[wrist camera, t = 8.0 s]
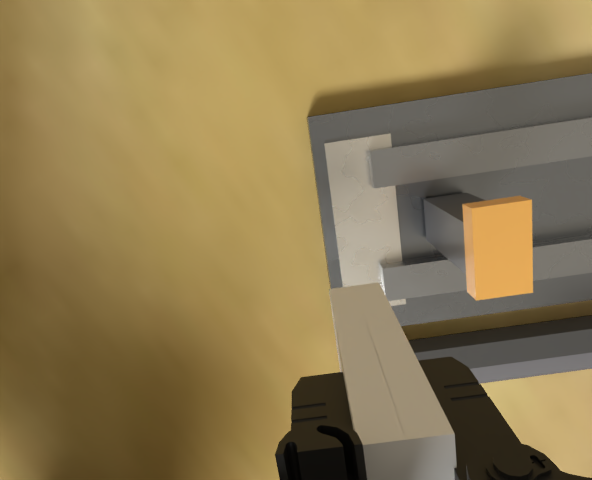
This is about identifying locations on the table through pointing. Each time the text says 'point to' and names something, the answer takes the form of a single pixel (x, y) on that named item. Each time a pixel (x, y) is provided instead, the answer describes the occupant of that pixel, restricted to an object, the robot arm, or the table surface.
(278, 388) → the table surface
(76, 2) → the table surface
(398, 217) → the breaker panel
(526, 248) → the lever
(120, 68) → the table surface
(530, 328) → the long dark grey rail
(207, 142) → the table surface
